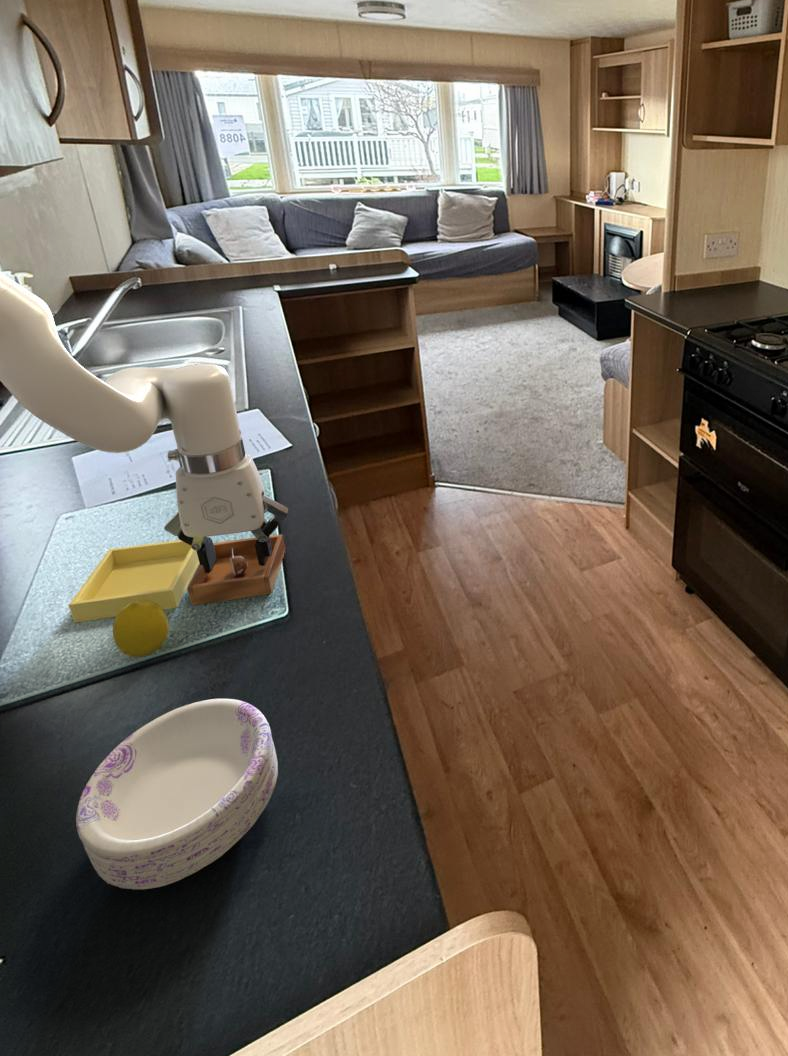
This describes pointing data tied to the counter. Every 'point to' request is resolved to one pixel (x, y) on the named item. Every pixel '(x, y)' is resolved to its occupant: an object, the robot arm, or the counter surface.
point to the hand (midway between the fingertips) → (237, 562)
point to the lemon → (140, 628)
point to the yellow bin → (136, 579)
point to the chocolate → (238, 564)
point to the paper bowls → (177, 793)
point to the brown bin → (248, 584)
